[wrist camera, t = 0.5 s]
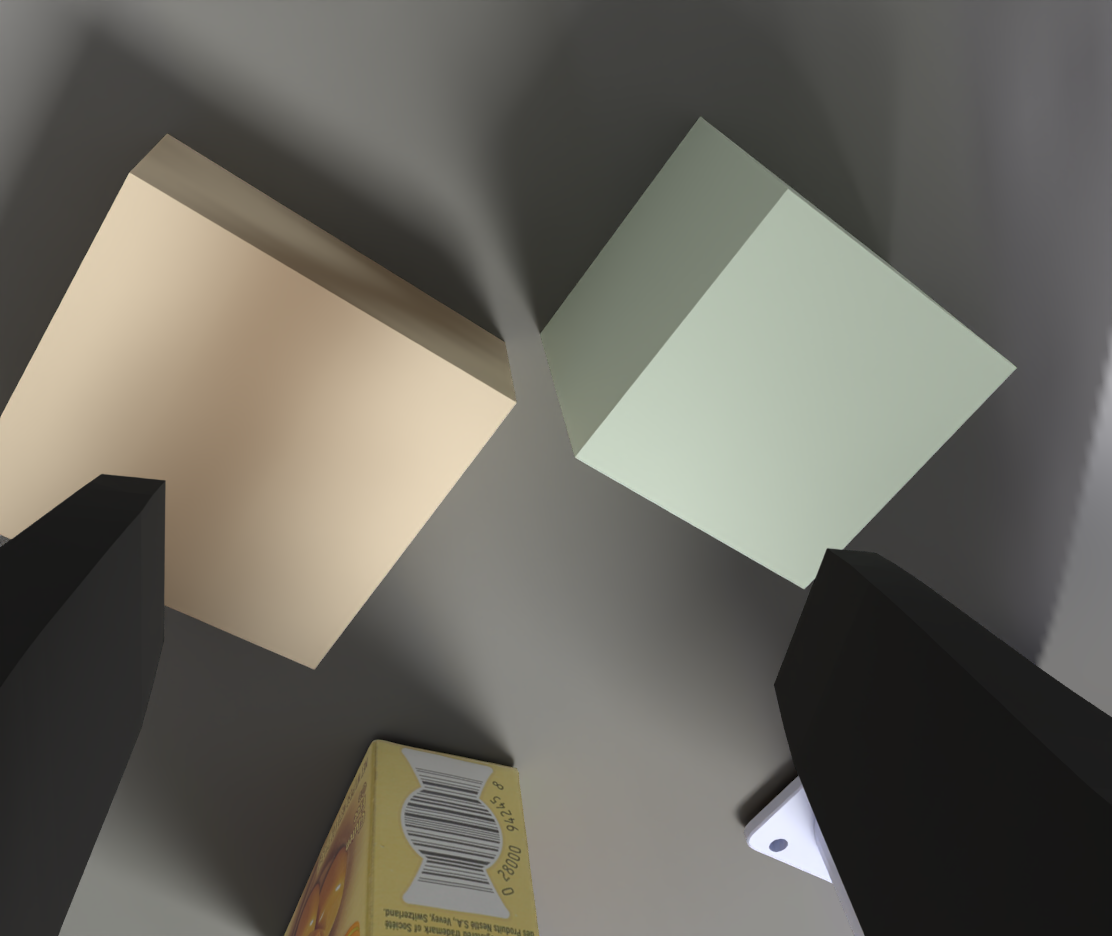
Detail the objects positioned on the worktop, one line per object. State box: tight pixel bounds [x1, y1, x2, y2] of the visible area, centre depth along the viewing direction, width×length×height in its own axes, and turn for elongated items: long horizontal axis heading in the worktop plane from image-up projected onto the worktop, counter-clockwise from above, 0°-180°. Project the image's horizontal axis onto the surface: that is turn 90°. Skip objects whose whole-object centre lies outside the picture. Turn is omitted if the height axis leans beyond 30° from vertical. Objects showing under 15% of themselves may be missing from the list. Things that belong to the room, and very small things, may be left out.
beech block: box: [0, 134, 517, 669], centre depth 19 cm, size 7×7×3 cm
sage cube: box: [540, 116, 1017, 589], centre depth 18 cm, size 5×5×5 cm
